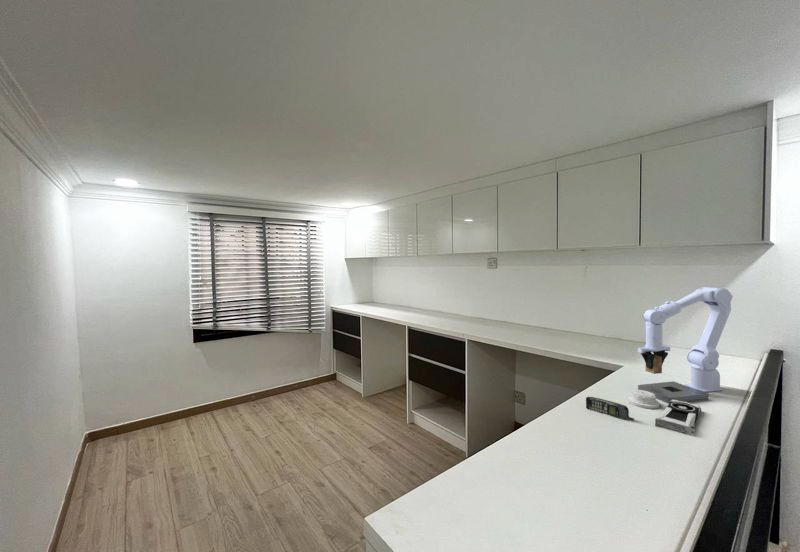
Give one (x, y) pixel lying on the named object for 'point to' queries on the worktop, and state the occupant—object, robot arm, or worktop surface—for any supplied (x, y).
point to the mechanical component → (643, 399)
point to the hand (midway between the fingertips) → (654, 368)
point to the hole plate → (674, 392)
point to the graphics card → (679, 417)
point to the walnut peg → (656, 365)
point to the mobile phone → (607, 407)
